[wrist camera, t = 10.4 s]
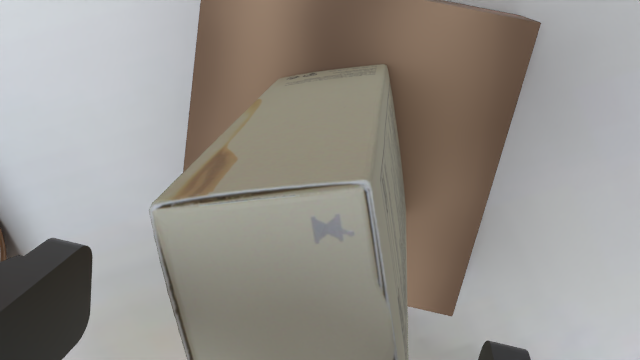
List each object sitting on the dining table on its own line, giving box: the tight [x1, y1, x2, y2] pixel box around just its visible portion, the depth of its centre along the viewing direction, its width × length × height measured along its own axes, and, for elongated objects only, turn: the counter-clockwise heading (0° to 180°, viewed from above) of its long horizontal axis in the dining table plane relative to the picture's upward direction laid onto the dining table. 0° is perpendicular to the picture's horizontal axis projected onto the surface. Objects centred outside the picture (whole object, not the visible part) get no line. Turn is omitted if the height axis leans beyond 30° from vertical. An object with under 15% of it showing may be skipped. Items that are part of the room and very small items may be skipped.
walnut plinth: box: [183, 0, 541, 316], centre depth 25 cm, size 12×12×4 cm
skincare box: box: [149, 64, 408, 360], centre depth 17 cm, size 6×4×12 cm
